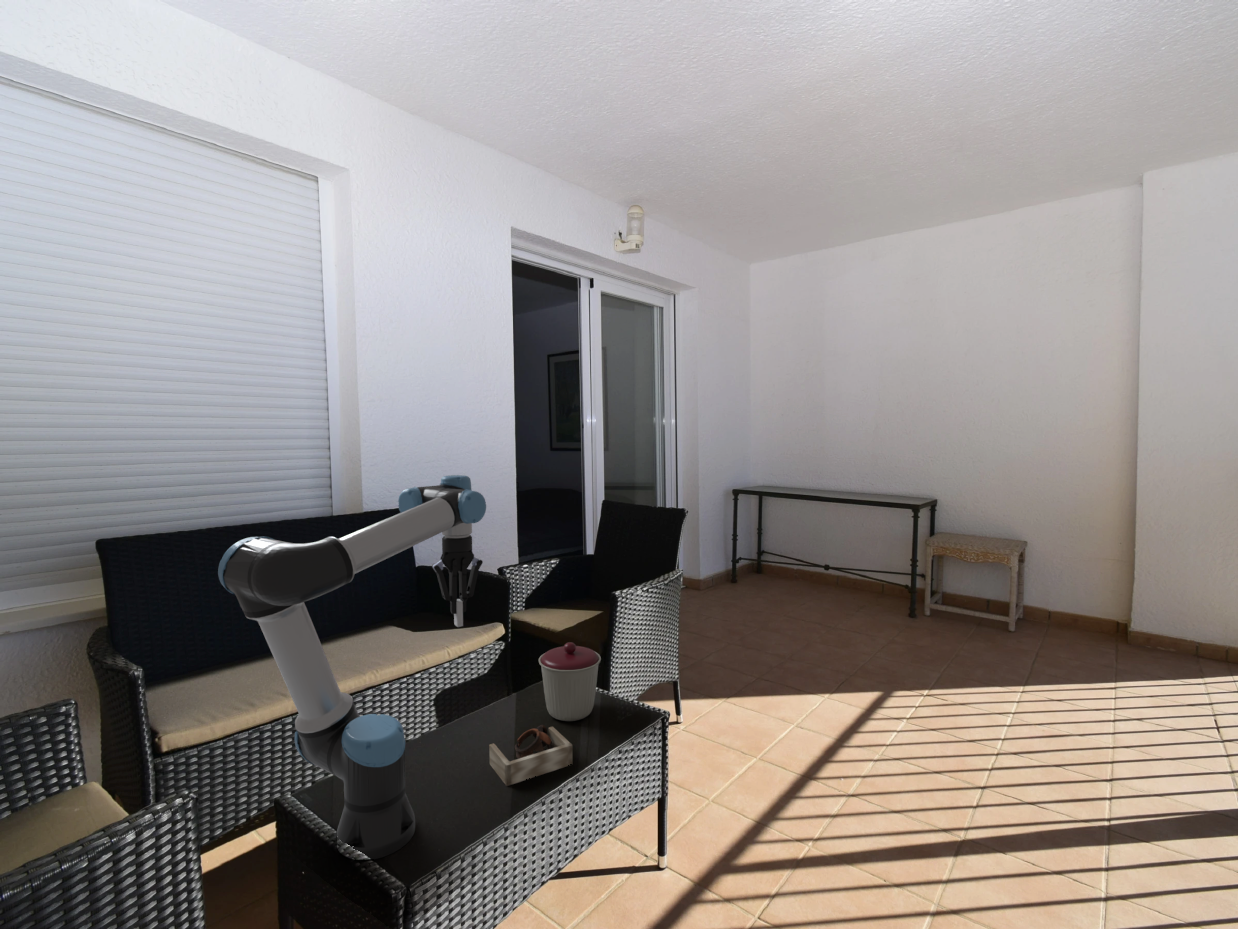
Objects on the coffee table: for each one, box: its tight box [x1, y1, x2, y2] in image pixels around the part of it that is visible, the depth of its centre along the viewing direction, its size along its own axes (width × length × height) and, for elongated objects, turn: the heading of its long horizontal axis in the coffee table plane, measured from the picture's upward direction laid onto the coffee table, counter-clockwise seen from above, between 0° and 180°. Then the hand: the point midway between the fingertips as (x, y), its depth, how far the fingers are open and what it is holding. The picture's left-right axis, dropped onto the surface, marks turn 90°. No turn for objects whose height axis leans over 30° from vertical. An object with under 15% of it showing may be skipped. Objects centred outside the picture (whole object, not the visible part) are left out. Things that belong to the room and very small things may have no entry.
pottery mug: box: [514, 724, 554, 759], centre depth 158 cm, size 12×10×8 cm
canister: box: [538, 641, 602, 722], centre depth 181 cm, size 18×18×21 cm
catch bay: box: [488, 726, 574, 787], centre depth 154 cm, size 17×11×5 cm, turn 122°
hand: (458, 625), depth 161 cm, fingers closed
